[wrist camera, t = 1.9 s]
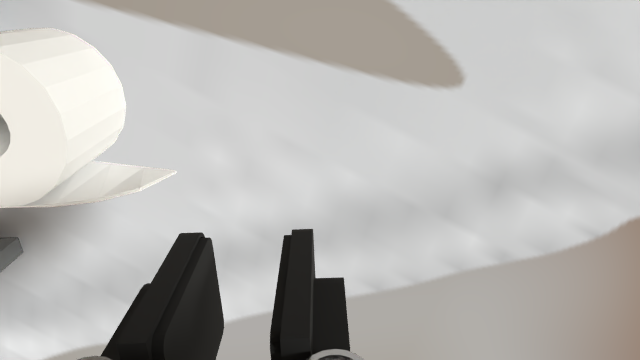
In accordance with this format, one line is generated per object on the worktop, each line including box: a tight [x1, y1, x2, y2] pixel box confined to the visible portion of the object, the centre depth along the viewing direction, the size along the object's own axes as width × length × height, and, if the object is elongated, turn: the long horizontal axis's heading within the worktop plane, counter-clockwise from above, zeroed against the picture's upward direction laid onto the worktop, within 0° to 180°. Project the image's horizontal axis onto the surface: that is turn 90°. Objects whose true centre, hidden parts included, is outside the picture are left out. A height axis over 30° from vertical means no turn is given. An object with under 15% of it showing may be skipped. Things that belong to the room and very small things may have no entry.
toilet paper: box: [0, 28, 176, 208], centre depth 24 cm, size 8×11×7 cm
